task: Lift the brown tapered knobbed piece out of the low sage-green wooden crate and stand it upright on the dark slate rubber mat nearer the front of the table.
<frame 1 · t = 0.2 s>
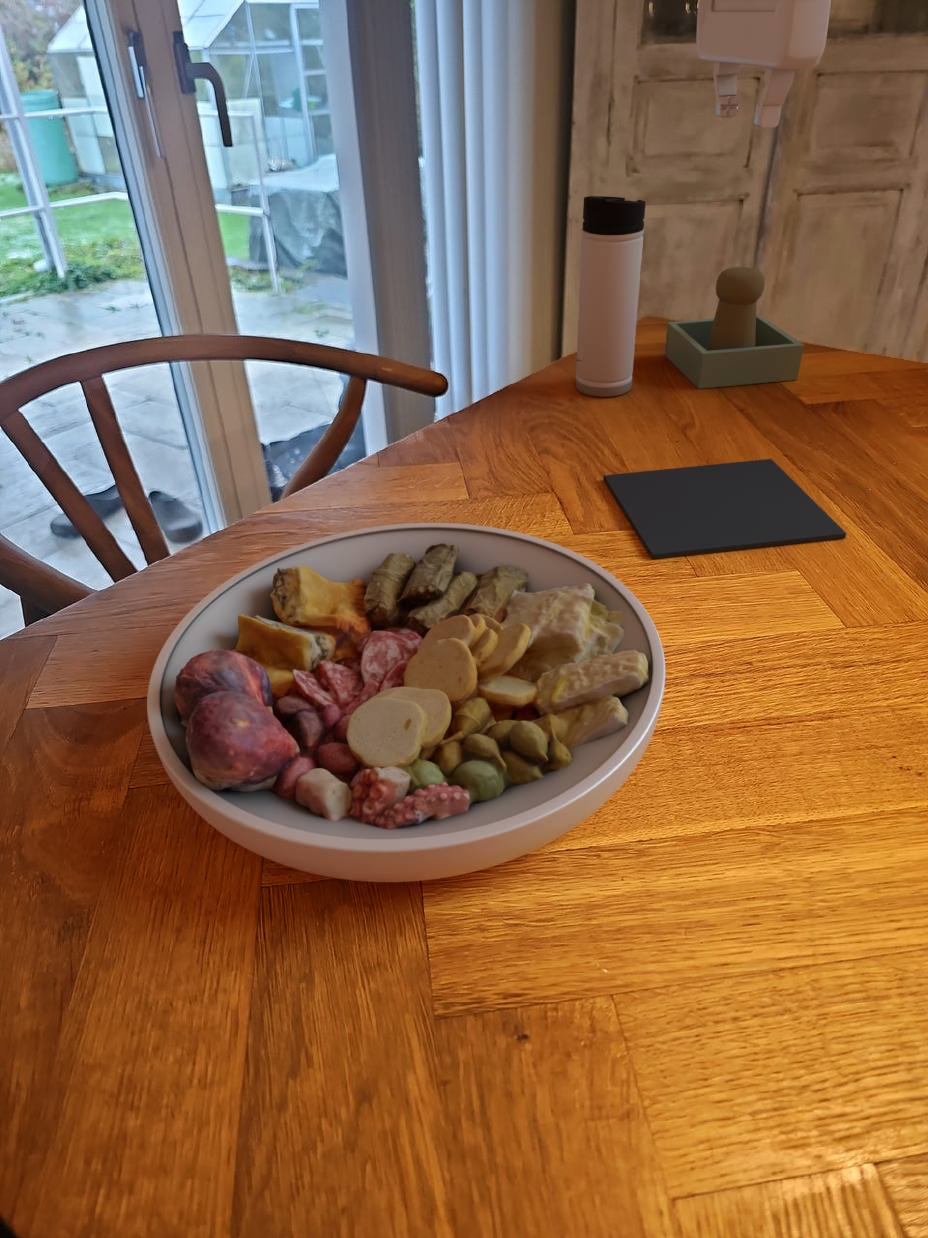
hand: (744, 121, 80), 26 cm above the table, tool pointing down, fingers open, 8 cm apart
bowl: (414, 711, 53), on the table
crate: (728, 367, 100), on the table
brown tapered knobbed piece: (727, 368, 100), resting in crate
travel mug: (602, 389, 96), on the table
mat: (716, 507, 73), on the table
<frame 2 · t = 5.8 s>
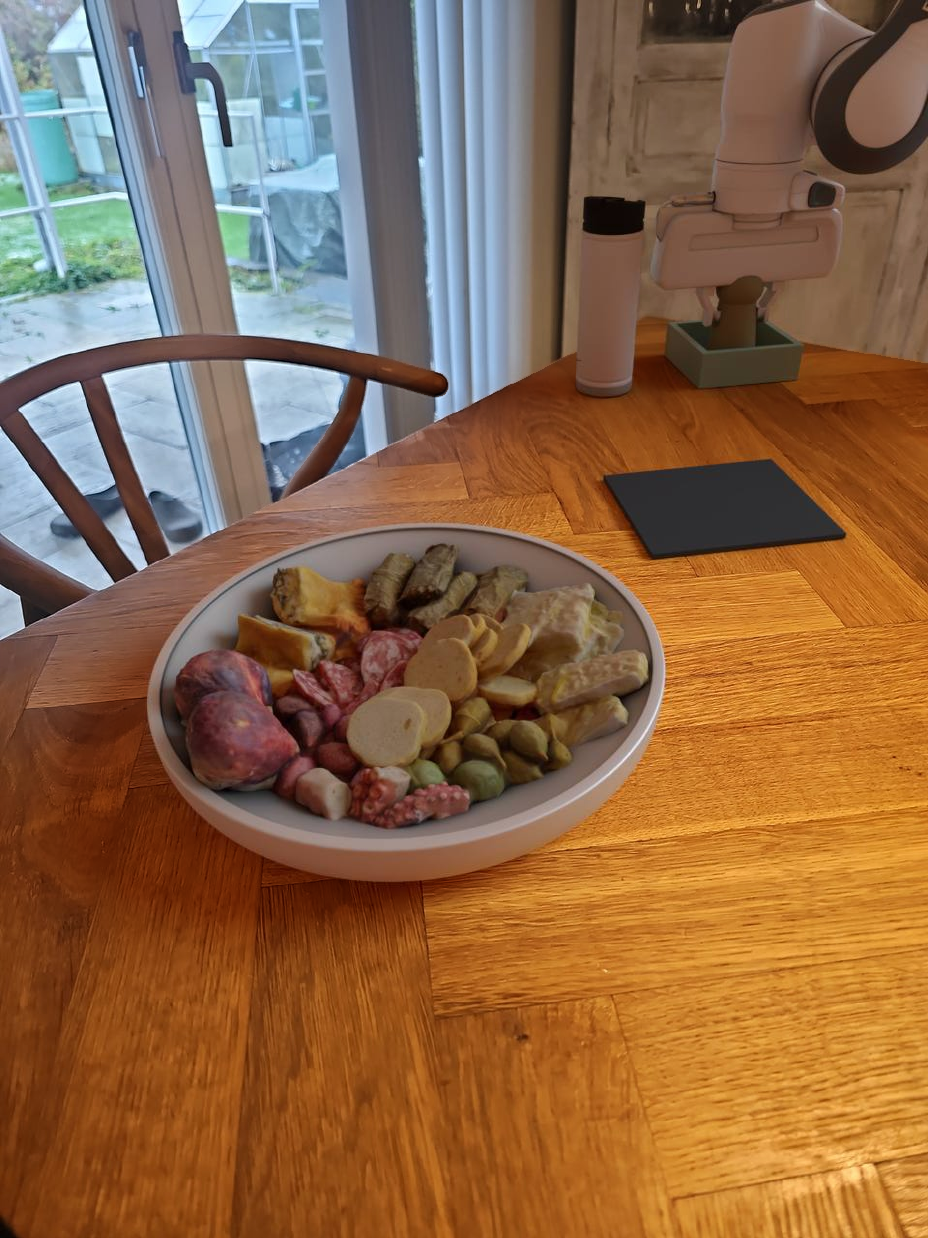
hand: (734, 323, 97), 5 cm above the table, tool pointing down, fingers closed on brown tapered knobbed piece, 4 cm apart
brown tapered knobbed piece: (727, 368, 100), resting in crate, touching gripper
everything else where it was.
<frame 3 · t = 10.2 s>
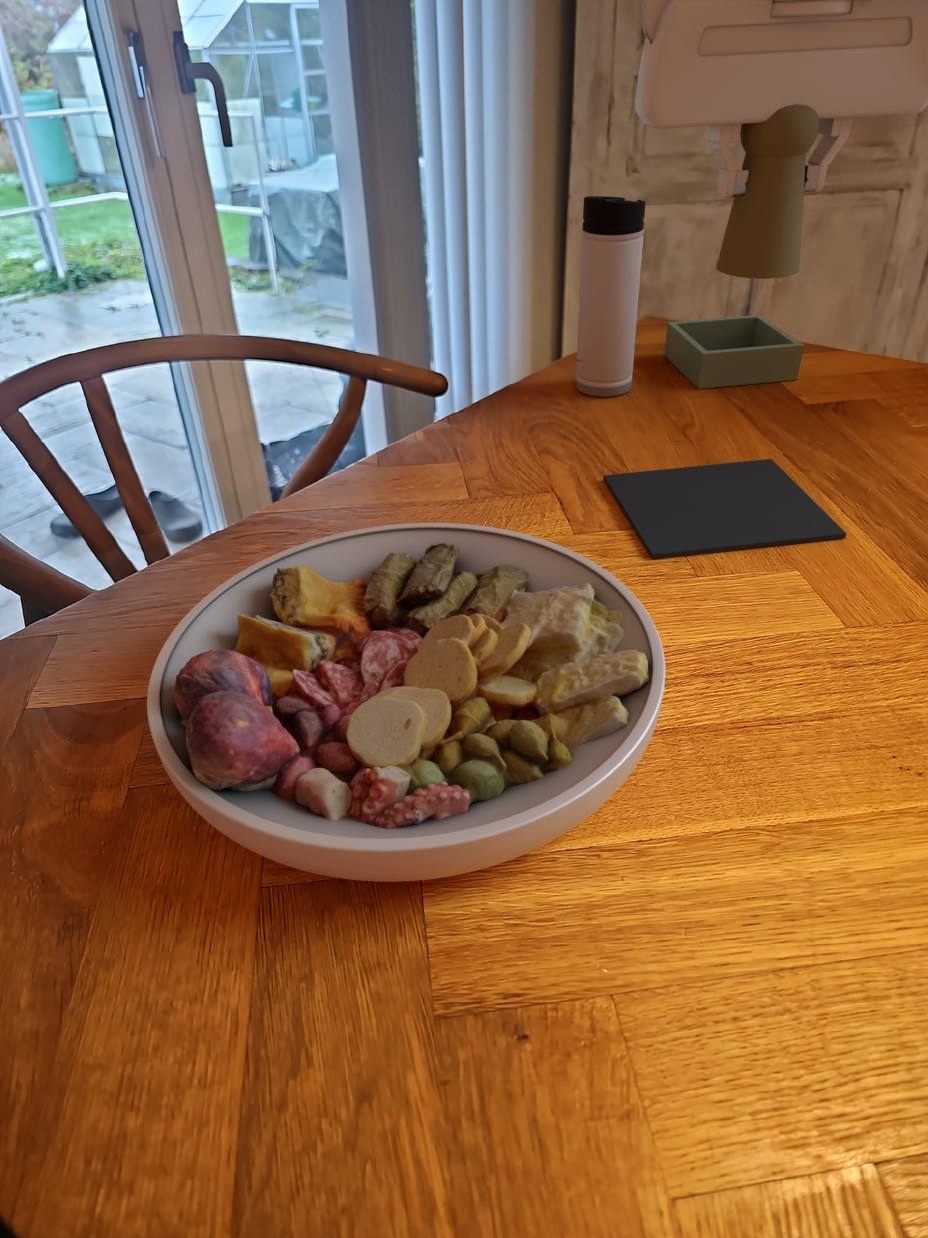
hand: (769, 193, 61), 24 cm above the table, tool pointing down, fingers closed on brown tapered knobbed piece, 4 cm apart
brown tapered knobbed piece: (756, 270, 64), point 19 cm above the table, touching gripper
everything else where it was.
when the fingers open (6 cm above the table, at t = 14.7 s): brown tapered knobbed piece stays where it is, resting on mat.
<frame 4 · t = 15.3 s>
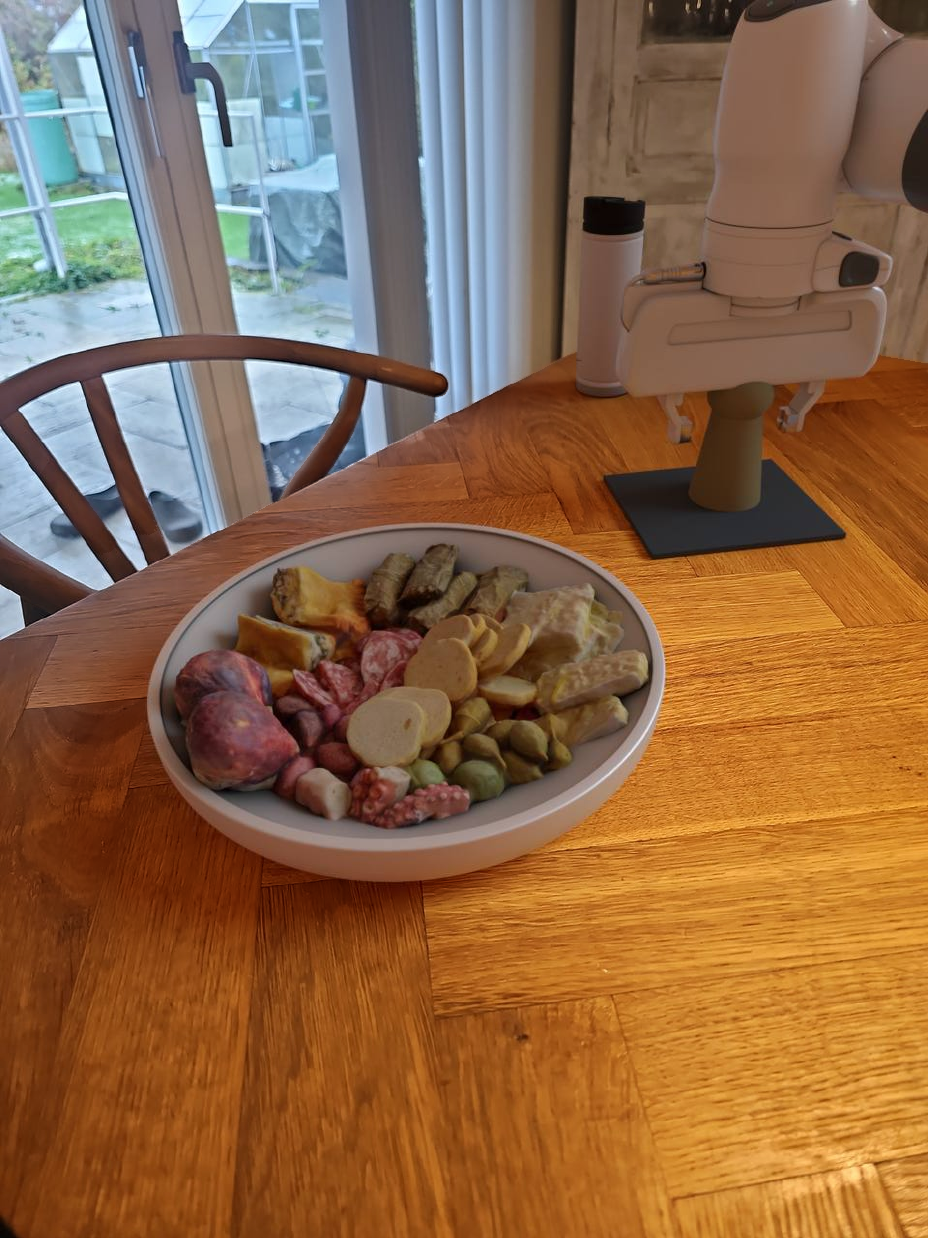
hand: (733, 435, 70), 6 cm above the table, tool pointing down, fingers open, 8 cm apart
brown tapered knobbed piece: (723, 497, 73), resting on mat
everything else where it was.
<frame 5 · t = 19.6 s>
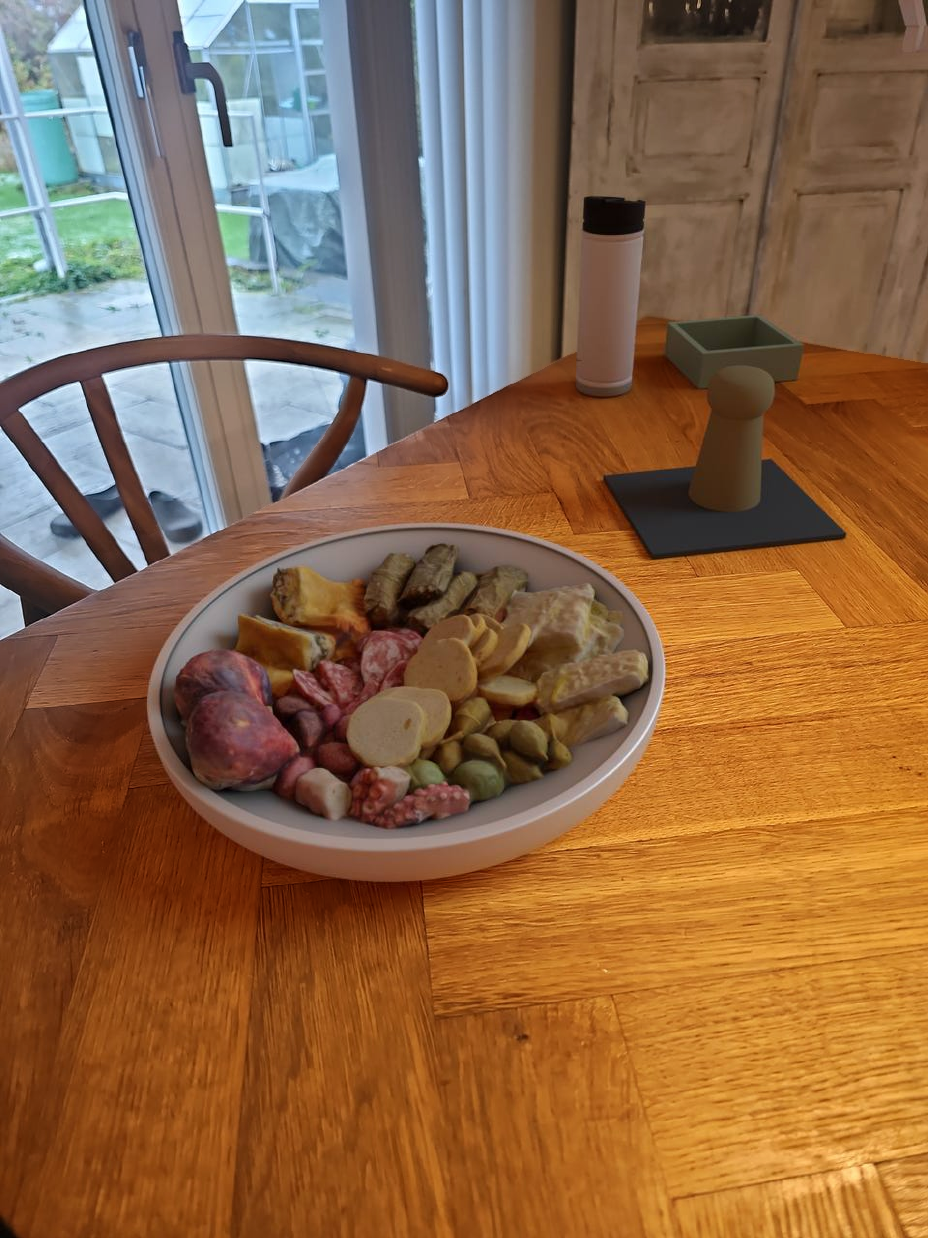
nothing on the table moved.
at the end: brown tapered knobbed piece inside the target area on the mat (1.6 cm from its centre), point 0.3 cm above the mat's base; brown tapered knobbed piece tilted 0°; the gripper is holding nothing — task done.
